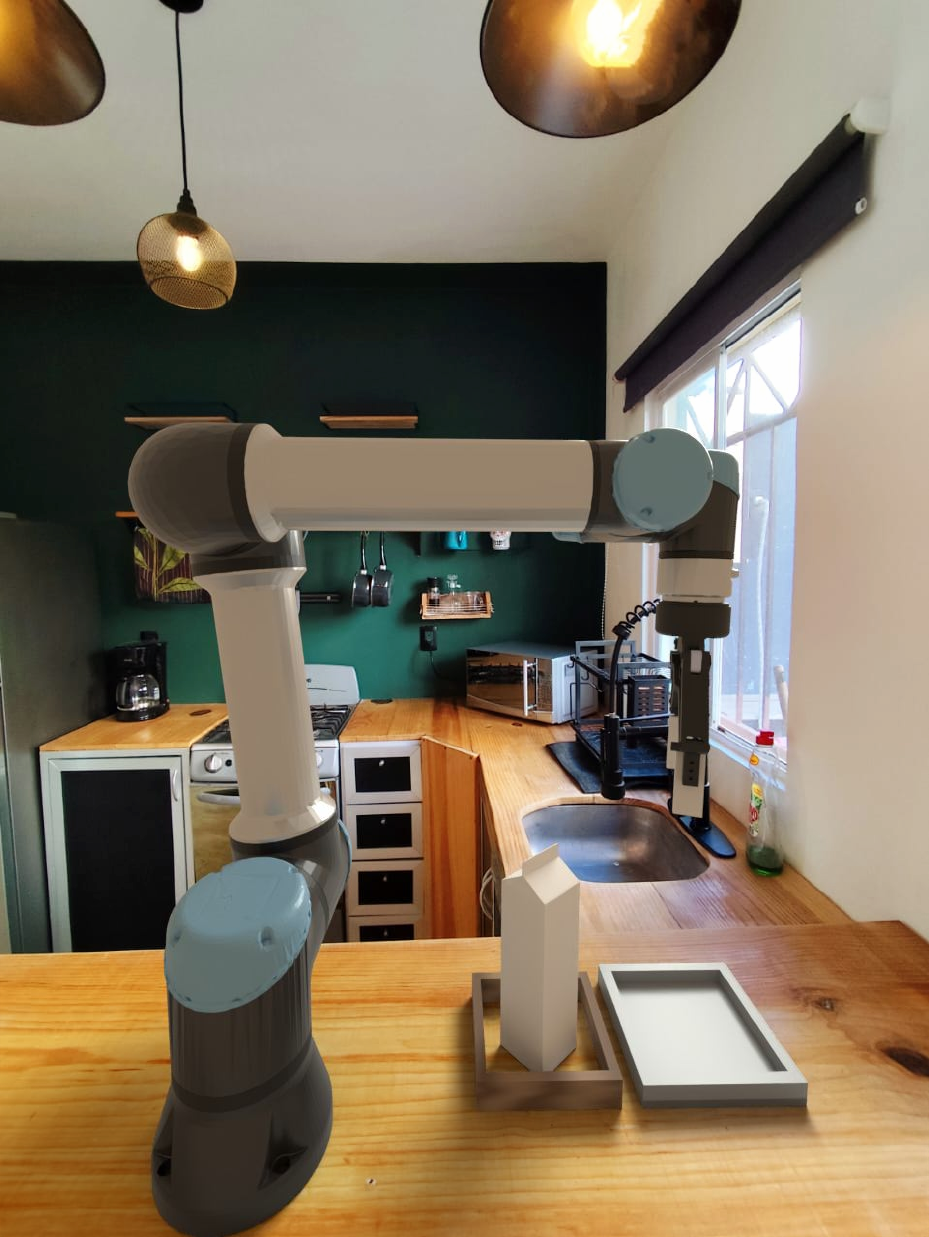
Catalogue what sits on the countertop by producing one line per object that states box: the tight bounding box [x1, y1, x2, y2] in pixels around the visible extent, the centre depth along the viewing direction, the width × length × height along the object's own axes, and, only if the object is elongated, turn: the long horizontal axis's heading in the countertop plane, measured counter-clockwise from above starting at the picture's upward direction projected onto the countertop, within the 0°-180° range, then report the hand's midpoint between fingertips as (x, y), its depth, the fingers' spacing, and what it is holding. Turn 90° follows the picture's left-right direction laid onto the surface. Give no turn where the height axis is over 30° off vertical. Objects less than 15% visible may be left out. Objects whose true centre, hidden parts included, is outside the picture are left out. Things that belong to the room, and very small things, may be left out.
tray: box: [597, 962, 809, 1109], centre depth 59 cm, size 16×16×2 cm
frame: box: [471, 971, 624, 1112], centre depth 58 cm, size 14×14×3 cm
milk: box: [499, 843, 581, 1072], centre depth 57 cm, size 6×6×22 cm
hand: (682, 789), depth 60 cm, fingers open, 13 cm apart
